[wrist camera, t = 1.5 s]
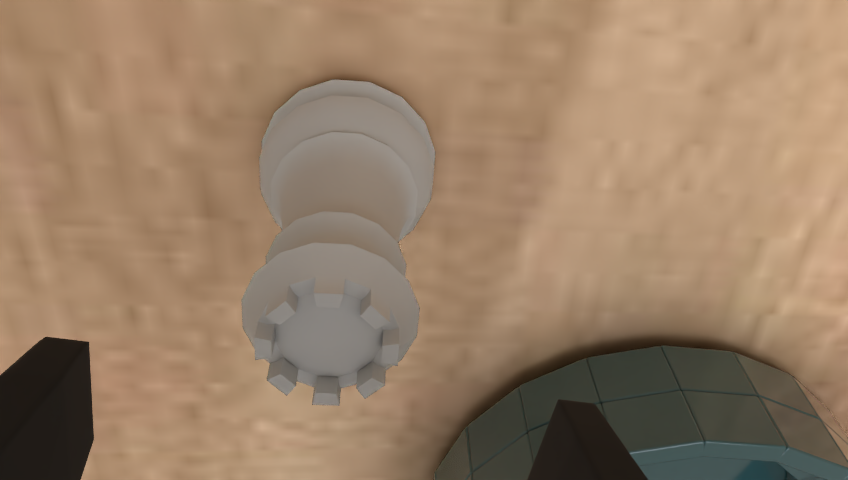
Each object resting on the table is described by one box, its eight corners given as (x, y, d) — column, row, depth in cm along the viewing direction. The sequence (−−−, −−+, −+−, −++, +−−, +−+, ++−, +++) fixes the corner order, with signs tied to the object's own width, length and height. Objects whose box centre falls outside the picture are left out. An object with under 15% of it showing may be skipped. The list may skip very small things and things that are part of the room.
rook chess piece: (456, 97, 20) (490, 275, 13) (409, 243, 22) (416, 462, 15) (280, 51, 19) (215, 214, 12) (249, 207, 21) (180, 420, 14)
